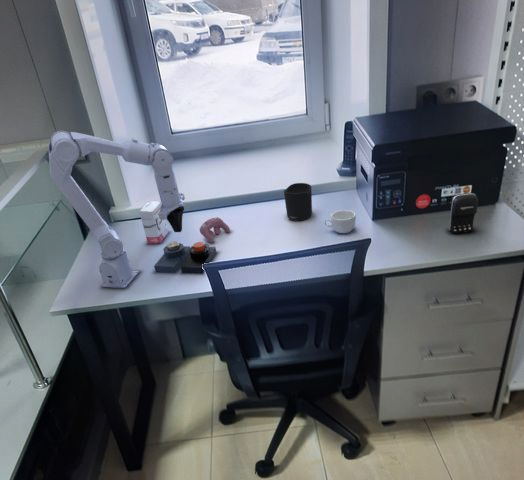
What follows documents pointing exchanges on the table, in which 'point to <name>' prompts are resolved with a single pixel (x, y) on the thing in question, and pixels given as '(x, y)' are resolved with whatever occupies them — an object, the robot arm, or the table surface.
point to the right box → (198, 260)
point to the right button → (198, 246)
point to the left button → (173, 246)
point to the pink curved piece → (215, 224)
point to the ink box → (153, 222)
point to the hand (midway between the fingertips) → (178, 231)
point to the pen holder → (298, 201)
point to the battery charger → (463, 213)
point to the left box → (172, 259)
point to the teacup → (342, 221)
